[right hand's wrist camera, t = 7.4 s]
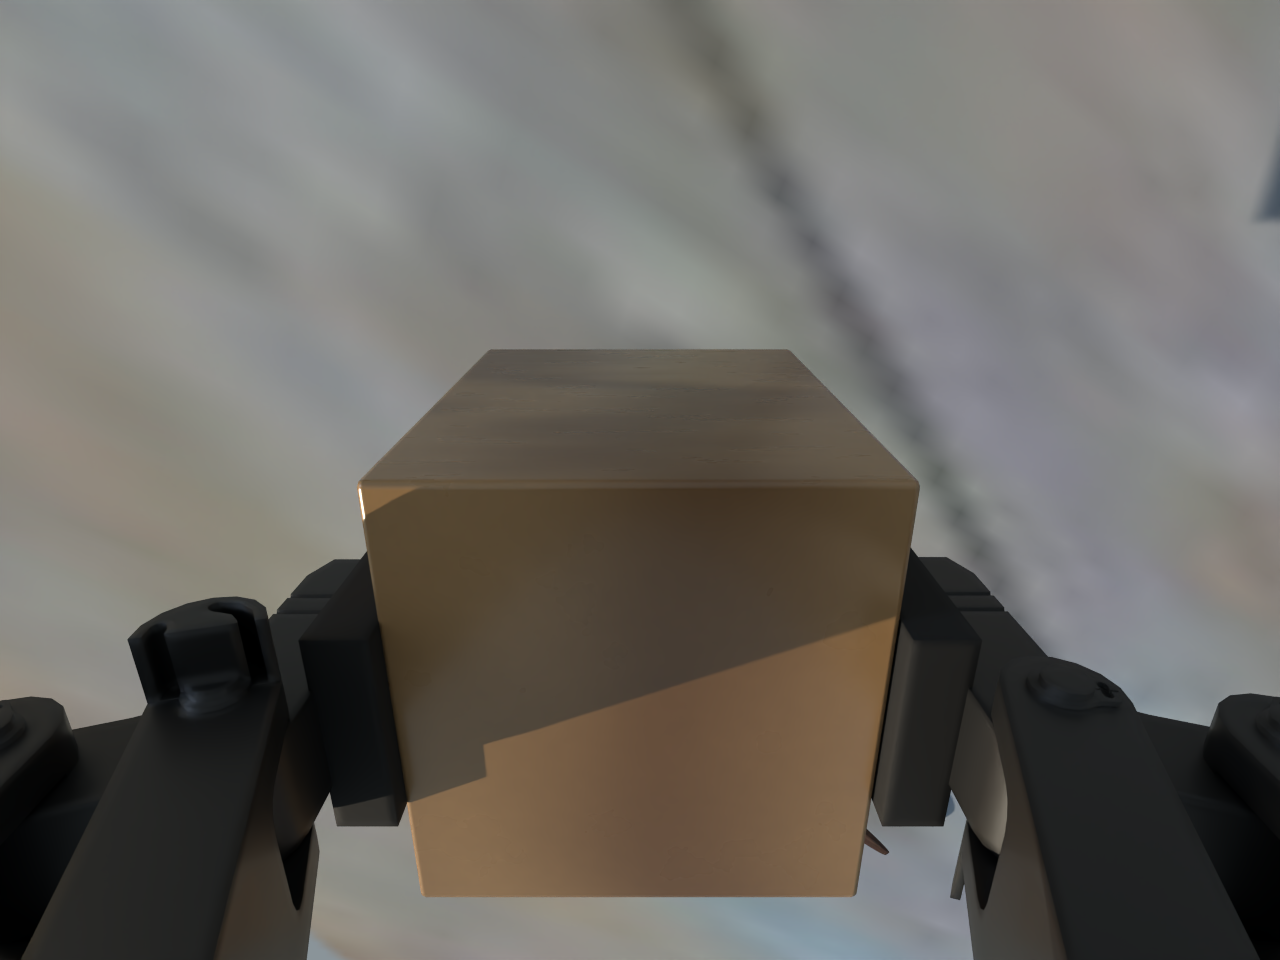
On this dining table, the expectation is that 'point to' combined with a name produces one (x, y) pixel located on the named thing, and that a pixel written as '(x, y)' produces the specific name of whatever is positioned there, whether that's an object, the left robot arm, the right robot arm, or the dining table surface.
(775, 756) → the block
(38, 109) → the dining table surface
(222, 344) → the dining table surface
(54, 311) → the dining table surface
